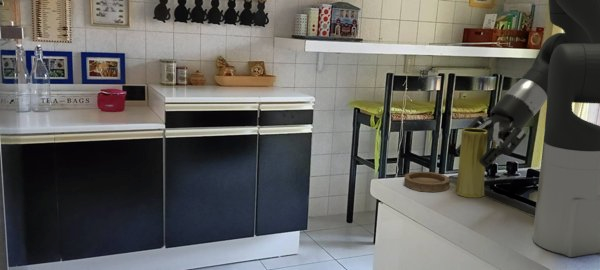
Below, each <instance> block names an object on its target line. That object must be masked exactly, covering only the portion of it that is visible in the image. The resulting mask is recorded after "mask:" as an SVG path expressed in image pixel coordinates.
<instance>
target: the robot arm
mask: <svg viewBox="0 0 600 270" xmlns="http://www.w3.org/2000/svg"><path fill="white" fill-rule="evenodd" d="M548 12H549V20H550V21H549V22H550V23H551V24H552V25H553V26H556V27H558V28H560V29H561V30H563V32H557V33H554V34H552V35H550V36H548V38H546V40H545V41H544V42H543V43H542V45H541V47H540V49H539V51H538V53H537V55H536V57H535V59H534V61H533V64H532V66H531V67H530V68H529V69H528V70H527V71H526V73H524V75H523V76H522V77H521V78H520V79H519V80H518V81H517V82H516V83H515V84H513V85H512V86H511V87H510V88H509V89H508V91H507V92H506V93H505V94H504V95H503V96H502V97H501V98H500V100H499V101H497V103H496V104H495V105H493V106H492V108H491V115H490V117H488V118H487V119H485V118H484V117H483V116H482V115H478V116H477V117H476V118H475V119H474V120H473V121H472V123H470V124H469V125H468V126H467V128H480V129H485V130H487V131H488V138H487V142H492V146H491V147H490V148H489V149H488V150H486V153H485V154H484V156H483V157H482V158H481V159H480V163H481V164H482V165H483V166H484V167H485V168H488V167H489V166H491V164H493V163H494V161H496V159H498V157H499V156H502V155H503V154H504V155H506V156H510V155H512V153H513V152H514V151H515V150H516V148H517V147H519V145H520V144H521V142H522V141H523V140H524V139H525V137H526V136H527V134H526V133H525V131H524V130H523V128H525V127H526V125H527V124H528V123H529V122H530V121H531V120H532V118H534V117H535V115H537V114H538V112H539V111H540V110H541V108H542V107H543V106H544V105H545V103H546V109H545V119H544V120H545V121H544V135H543V141H542V142H543V143H542V149H541V150H542V152H541V158H540V159H541V160H540V168H539V178H538V188H537V194H536V195H537V196H536V202H535V203H536V204H535V212H534V223H533V231H532V232H533V233H532V241H533V242H534V243H535V244H536V245H537V246H539V247H540V248H542V249H545V250H547V251H550V252H553V253H557V254H560V255H561V254H562V255H564V256H566V257H569V258H573V257H574V258H575V257H580V256H581V257H582V256H587V255H593V254H598V253H600V125H599V124H596V123H593V122H590V121H588V120H585V119H584V118H582V117H580V116H578V115H577V114H575V113H574V111H573V103H575V104H578V103H580V104H599V105H600V0H548ZM460 149H461V144H460V145H459V146H457V148H456V150H455V153H456V154H457V155H458V156H459V157H460Z"/></svg>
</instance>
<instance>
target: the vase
mask: <svg viewBox="0 0 600 270" xmlns="http://www.w3.org/2000/svg"><path fill="white" fill-rule="evenodd" d="M487 138H488V131H487V130H485V129H480V128H468V127H466V128H465V127H464V128H462V129H461V141H460V145H461V149H460V156H459V160H458V169H457V178H456V184H455V185H456V186H455V194H457V195H458V196H460V197H464V198H467V199H468V198H469V199H470V198H471V199H477V198H483V197H484V196H485V172H486V171H485V170H486V167H484V166H483V165H482V164H481V163H480V159H481V158H482V157H483V156H484V154H485V153H486V152H487V148H488V147H487V145H488V140H487Z"/></svg>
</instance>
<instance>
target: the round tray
mask: <svg viewBox="0 0 600 270" xmlns="http://www.w3.org/2000/svg"><path fill="white" fill-rule="evenodd" d="M403 181H404V182H403V183H404V186H405V187H407V188H408V189H411V190H413V191H418V192H425V193H439V192H440V193H441V192H444V191H447V190H448V189H449V188H450V182H451V181H450V177H449V176H446V175H444V174H442V173H439V172H433V171H423V170H422V171H411V172H408V173H406V174H404V180H403Z"/></svg>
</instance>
